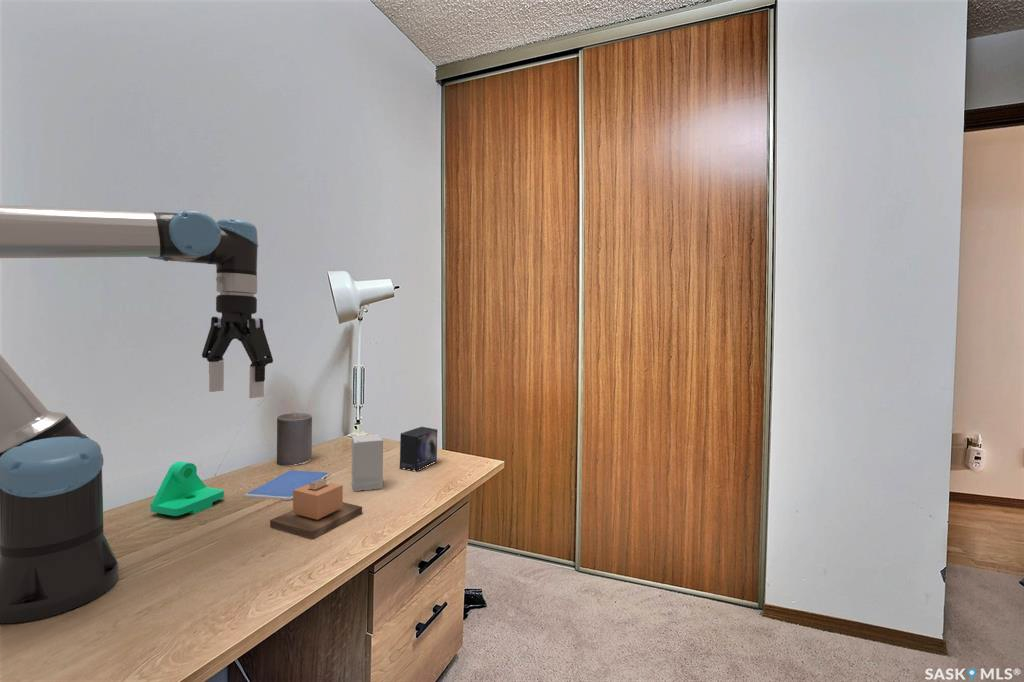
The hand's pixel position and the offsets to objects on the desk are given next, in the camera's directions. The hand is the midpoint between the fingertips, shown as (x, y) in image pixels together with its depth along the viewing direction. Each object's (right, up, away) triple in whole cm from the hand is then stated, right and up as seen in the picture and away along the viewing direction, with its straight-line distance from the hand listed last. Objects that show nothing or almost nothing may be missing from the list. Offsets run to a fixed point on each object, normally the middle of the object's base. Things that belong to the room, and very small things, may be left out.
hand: (235, 394), depth 102 cm
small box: (+32, -26, +39) cm, 57 cm away
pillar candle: (-6, -25, +41) cm, 48 cm away
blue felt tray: (+2, -27, +21) cm, 34 cm away
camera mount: (-14, -27, +6) cm, 31 cm away
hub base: (+17, -27, +1) cm, 32 cm away
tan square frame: (+17, -25, +1) cm, 31 cm away
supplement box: (+21, -27, +22) cm, 41 cm away
